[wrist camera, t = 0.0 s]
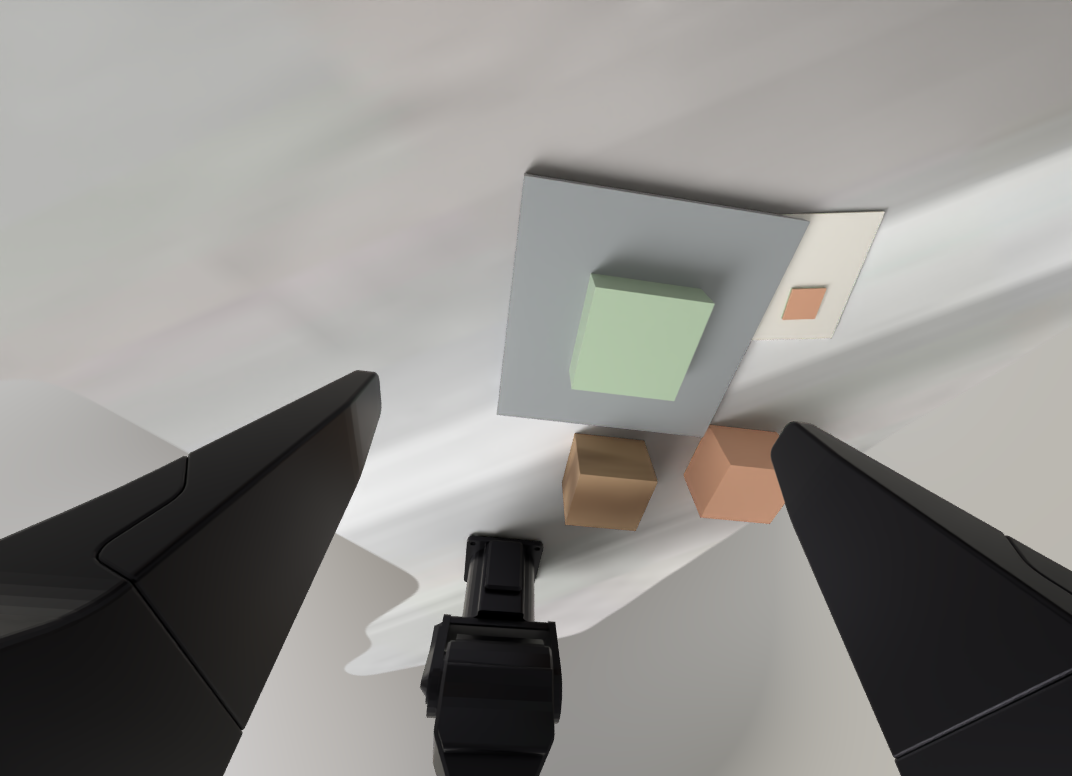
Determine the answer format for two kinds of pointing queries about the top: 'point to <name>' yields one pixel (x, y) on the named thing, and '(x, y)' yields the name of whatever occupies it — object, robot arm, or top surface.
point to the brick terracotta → (735, 475)
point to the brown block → (607, 482)
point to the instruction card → (819, 276)
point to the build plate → (635, 252)
